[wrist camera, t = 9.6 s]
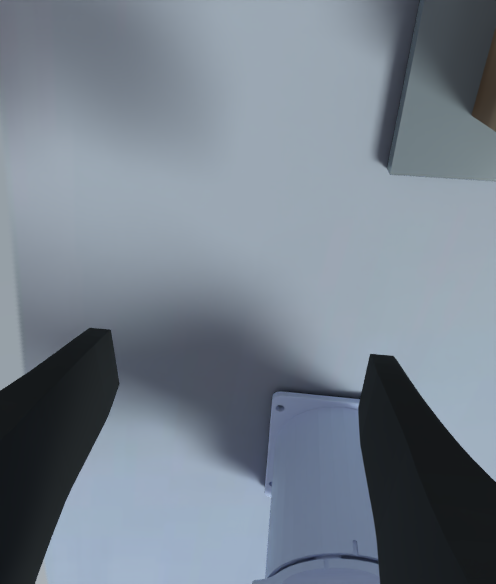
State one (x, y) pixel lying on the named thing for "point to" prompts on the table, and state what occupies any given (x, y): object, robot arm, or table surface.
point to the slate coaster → (445, 94)
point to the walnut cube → (487, 91)
